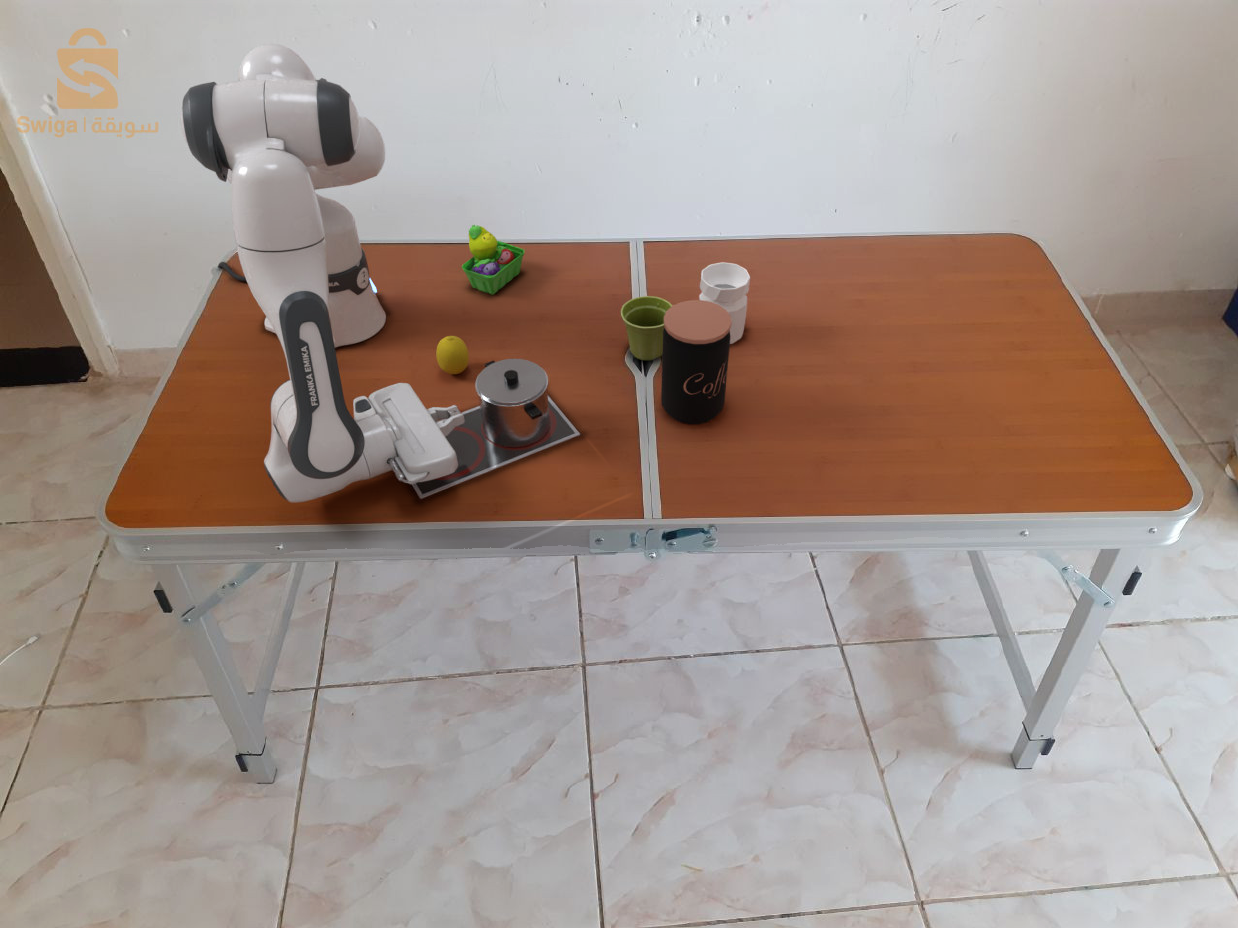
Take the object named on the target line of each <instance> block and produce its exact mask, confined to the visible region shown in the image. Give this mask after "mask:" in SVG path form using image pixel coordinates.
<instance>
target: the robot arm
mask: <svg viewBox="0 0 1238 928" xmlns="http://www.w3.org/2000/svg"><path fill="white" fill-rule="evenodd" d="M237 76H238V81H231V82H223V83H217V82H216V81H210V82H205V83H200V84H197V85H193V86H191V87H189V88H188V90H187V91H186V93H185V94H184V96H183V99H182V106H181V112H180V127H181V132H182V135H183V137H184V141H185V143H186V144H187V146H188V149H189V152H190V153H191V155H192V157H194V159H196V161H198V162H199V163H200V164H201V165H202V166H203V167H204V168H205V169H208V170H209V171H212V172H214V173H215V175H216V177H217V179H219V180H220V181H223V182H224V183H226V182H227V180H228V182H229V183H230V192H231V193H230V196H231V197H230V198H231V199H230V201H231V203H230V204H231V217H232V226H233V232H234V233H233V234H234V240H235V245H236V250H237V256H238V259H239V263H240V267H241V269H242V272H243V275H244V276H242V275H239V274H237V273H235V271H234V270H233V269H232V268H231V267H230V266H229V264H228V263H226V262H225V261H221V262H219V263H218V265H217V268H218V269H224V270H225V271H226V273H227V274H228V275H229V276H230V277H231V278H233V279H234V280H236V281H238V282H241V283H242V282H243V283H247V285H248V288H249V290H250V292H251V294H252V296H253V298H254V299H255V301H256V303H257V305H258V306H259V308H260V309H261V311H262V312H263V313H264V315H265V318H264V328H265V330H266V331H269V332H271V333H273V334H275V335H276V336H277V338H278V341H279V343H280V345H281V348H282V350H283V353H284V357H285V361H286V365H287V371H288V376H289V379H287V380H286V381H284V382H282V383H281V384H280V385H279V386H278V387H277V388H276V389H275V391H274V392H273V394H272V396H271V398H270V403H269V407H270V408H269V409H270V421H271V422H270V424H271V425H270V426H271V429H270V430H271V431H270V432H271V433H270V443H269V448H268V451H267V453H266V456H265V457H264V459H263V467H264V471H265V472H266V474H267V476H268V479H269V480H270V482H271V483H272V485H273V487H274V488H275V490H276V491H277V493H278V494H279V495H280V497H281V498H282V499H283V500H284V501H286V502H289V503H293V504H294V503H296V504H298V503H304V502H309V501H312V500H316V499H320V498H323V497H325V496H329V495H332V494H333V493H336V492H339V491H341V490H343V489H345V488H346V487H348V486H349V485H351V484H353V483H355V482H359V481H368V480H370V479H372V478H375V477H377V476H381V475H384V474H386V473H389V472H391V471H392V472H393V473H394V475H395V478H396V479H397V480H398V481H399V482H400V483H401V482H402V483H404V484H408V485H412V484H415V483H417V482H424V481H429V480H433V479H436V478H440V477H443V476H446V475H449V474H452V473H453V472H455V470H456V469H457V468H458V462H457V456H456V453H455V451H454V449H453V448H452V446H451V445H450V443H449V442H448V440H447V439H446V437H445V436H448V434H449V433H450V432H451V431H452V430H453V429H454V428H455V427H456V426H458V425H461V424H463V423H464V422H465V420H464V416H463V414H462V412H461V410H460V409H459V407H458V406H457V405H456V404H453V405H451V406H447V407H440V406H439V407H438V406H432V407H429V408H426V406H425V405H424V403H423V402H422V400H421V399H420V397H419V396H418V394H417V393H416V391H415V390H414V388H413V386H411V384H410V383H407V382H398V383H394V384H391V385H388V386H385V387H383V388H379V389H377V390H375V391H373V392H372V393H370V394H369V396H368V397H367V396H366V395H361V396H357V397H355V398H354V399H353V400H352V401H353V416H352V415H351V413H350V412H349V409H348V407H347V405H346V400H345V396H344V391H343V385H342V381H341V374H340V369H339V363H338V356H337V353H336V348H339V347H343V346H349V345H354V344H357V343H361V342H364V341H366V340H369V339H370V338H372V337H373V336H375V335H376V334H378V333H379V332H380V330H381V329H383V327H384V326H385V323H386V321H387V314H386V312H385V310H384V308H383V306H382V305H381V303H380V301H379V299H378V296H377V294H376V293H378V291H377V287H376V286H375V284H374V283H373V281H372V279H371V277H370V269H369V264H368V260H367V256H366V252H365V250H364V249H363V248H362V246H361V242H360V241H361V240H360V236H359V232H358V227H357V224H356V219H355V217H354V215H353V214H352V213H353V212H351V211H350V209H348V207H347V206H345V205H344V204H342V203H341V202H339V201H337V200H334V199H332V198H329V197H325V196H322V195H321V194H318V193H316V191H317V190H323V189H324V190H325V189H331V188H338V187H339V188H340V187H346V186H352V185H356V184H358V183H362V182H365V181H367V180H371V179H373V178H377V177H378V176H379V174H380V173H381V171H382V169H383V168H384V164H385V160H386V145H385V141H384V138H383V135H382V134H381V132H380V130H379V129H378V127H377V125H375V123H373V121H371V120H370V119H369V118H367V117H366V116H359V111H358V109H357V107H356V105H355V103H354V101H353V100H352V96H351V94H350V93H349V92H348V91H347V90H346V89H345V88H344V87H342V86H341V85H340V84H337V83H335V82H331V81H328V80H327V79H326V78H323V77H321V78H319V79H316V77H315V75H314V73H313V71H312V70H311V69H310V67H309V66H308V64H307V63H306V62H305V60H304V59H303V58H302V57H301V56H300V55H299V54H297V53H296V52H295V51H294V50H292V49H291V48H289V47H287V46H285V45H282V44H277V43H276V44H275V43H265V44H261V45H258V46H256V47H254V48H252V49H251V50H250V51H248V52H247V53H246V54H245V55H244V57H243V58H242V60H241V62H240V64H239V68H238V74H237ZM443 419H448V420H446V421H445V422H444V423H443V421H440V420H443ZM438 421H440V422H438Z"/></svg>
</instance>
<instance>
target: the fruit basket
mask: <svg viewBox="0 0 1238 928" xmlns="http://www.w3.org/2000/svg"><path fill="white" fill-rule="evenodd" d="M468 247H469V248H468V249H469V252H470V254H471V255H472V257H471V258H470V259H468V260H467V261H466V262H464V263H463V264H462V265H461V269H462V271H463V273H465V275H466V277H467V279H468V281H469V283H470V285H471V287H472V288H473V289H477V290H478V291H481V292H483V293H487V294H489V295H493V296H494V295H495V294H496V293H497V292H498V291H499V290H501V289H502V288H503V287H504V286H506V284H507V283H510V281H512V280H513V278H516V276H518V275H520V272H521V268H522V267H521V266H522V262H523V258H524V255H525V252H526V251H525V249H523V248H521V247H519V246H515V245H512V244H509V243H506V242H504V241H500V240H497V238H496V236H495V235H494V234H493V233H491V232H490V231H488V230H487V229H486V228H485V227H484V226H482V225H475V224H472V225H471V227H470V228H469V229H468Z"/></svg>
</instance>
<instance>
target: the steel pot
mask: <svg viewBox="0 0 1238 928" xmlns="http://www.w3.org/2000/svg"><path fill="white" fill-rule="evenodd" d="M474 388H475V389H474V390H475V393H476V395H477V396H478V402H479V406H480V410H481V416H482V423H483V430H484V433H485V435H486V436H487V438H488V439H489V440H491V441H492V442H494V443H495V444H498V445H500V446H504V447H524V446H528V445H531V444H533V443H535V442H537V441H539V440H540V439H541V438H543V437H544V436H545V434H546V433H547V431H548V429H549V426H550V418H549V406H548V396H549V394H548V389H549V376H548V374H547V371H545V369H544V368H542V367H541V366H540V365H539V364H537V363H536V362H533V361H531V360H527V359H523V358H507V359H502V360H497V361H495V360H494V359H493V360H491V361H488V362H486V363H484V368H483V370H481V371H480V373H479V374H478V375H477V377H476V380H475V384H474Z"/></svg>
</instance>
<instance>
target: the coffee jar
mask: <svg viewBox="0 0 1238 928" xmlns="http://www.w3.org/2000/svg"><path fill="white" fill-rule="evenodd" d="M731 323H732V322H731V316H730V315H729V313H728V312H727V310H725V309H724V308H723V307H721V306H720V305H718V304H715V303H712V302H709V301H703V300H699V299H689V300H685V301H680V302H678V303H675V304H672V307H671V308H669V309H668V310H667V311H666V313H665V316H664V330H663V353H662V355H661V357H662V358H661V387H660V388H661V389H660V390H661V391H660V401H661V406H662V408H663V410H664V411H665V413H666V414H667V415H668V416H669V417H670V418H671V419H672V420H674V421H676V422H678V423H681V424H684V425H690V426H691V425H702V424H706V423H709V422H710V421H712V420H714V419H715V418H716V417H717V416H718V415H719V414H721V412H722V411H723V409H724V406H725V402H726V393H727V392H726V391H727V378H728V369H729V360H730V359H729V357H730V347H731V344H730V327H731Z"/></svg>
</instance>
